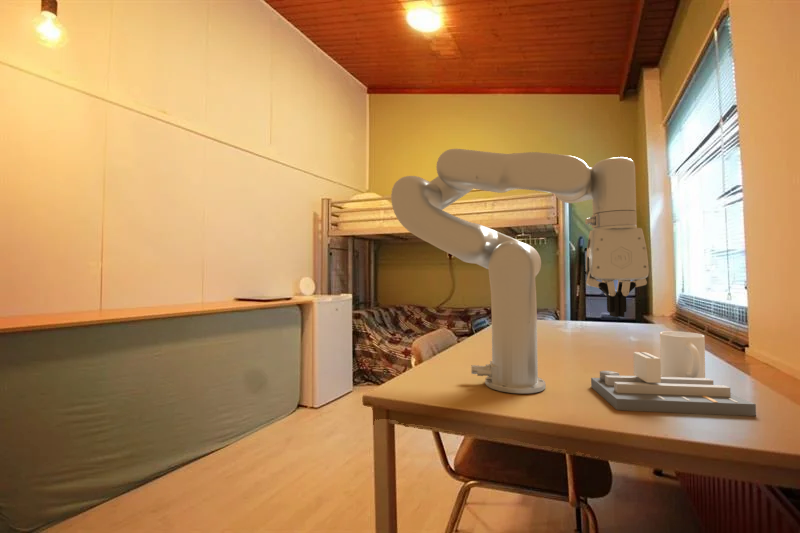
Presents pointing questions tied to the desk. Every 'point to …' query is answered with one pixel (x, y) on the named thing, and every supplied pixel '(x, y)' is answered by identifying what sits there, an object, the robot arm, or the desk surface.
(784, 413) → the desk surface
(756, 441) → the desk surface
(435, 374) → the desk surface
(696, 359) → the mug
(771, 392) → the desk surface
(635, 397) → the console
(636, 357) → the fader
